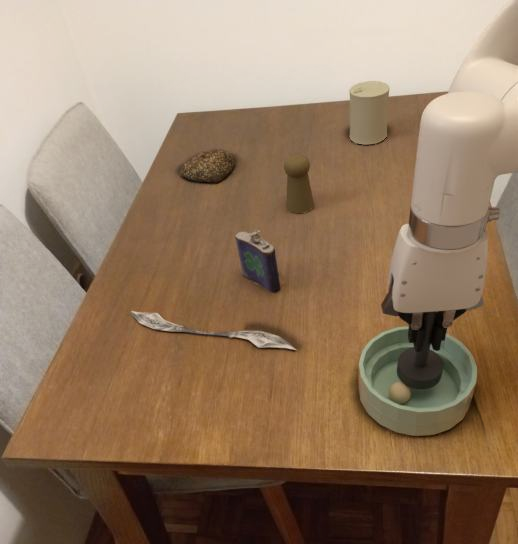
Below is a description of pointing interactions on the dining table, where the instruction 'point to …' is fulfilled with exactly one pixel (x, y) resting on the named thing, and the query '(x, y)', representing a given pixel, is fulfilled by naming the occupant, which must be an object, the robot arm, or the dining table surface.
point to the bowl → (423, 402)
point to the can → (368, 112)
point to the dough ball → (399, 392)
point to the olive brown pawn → (298, 184)
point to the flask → (258, 260)
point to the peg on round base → (421, 360)
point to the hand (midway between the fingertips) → (425, 343)
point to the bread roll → (209, 166)
